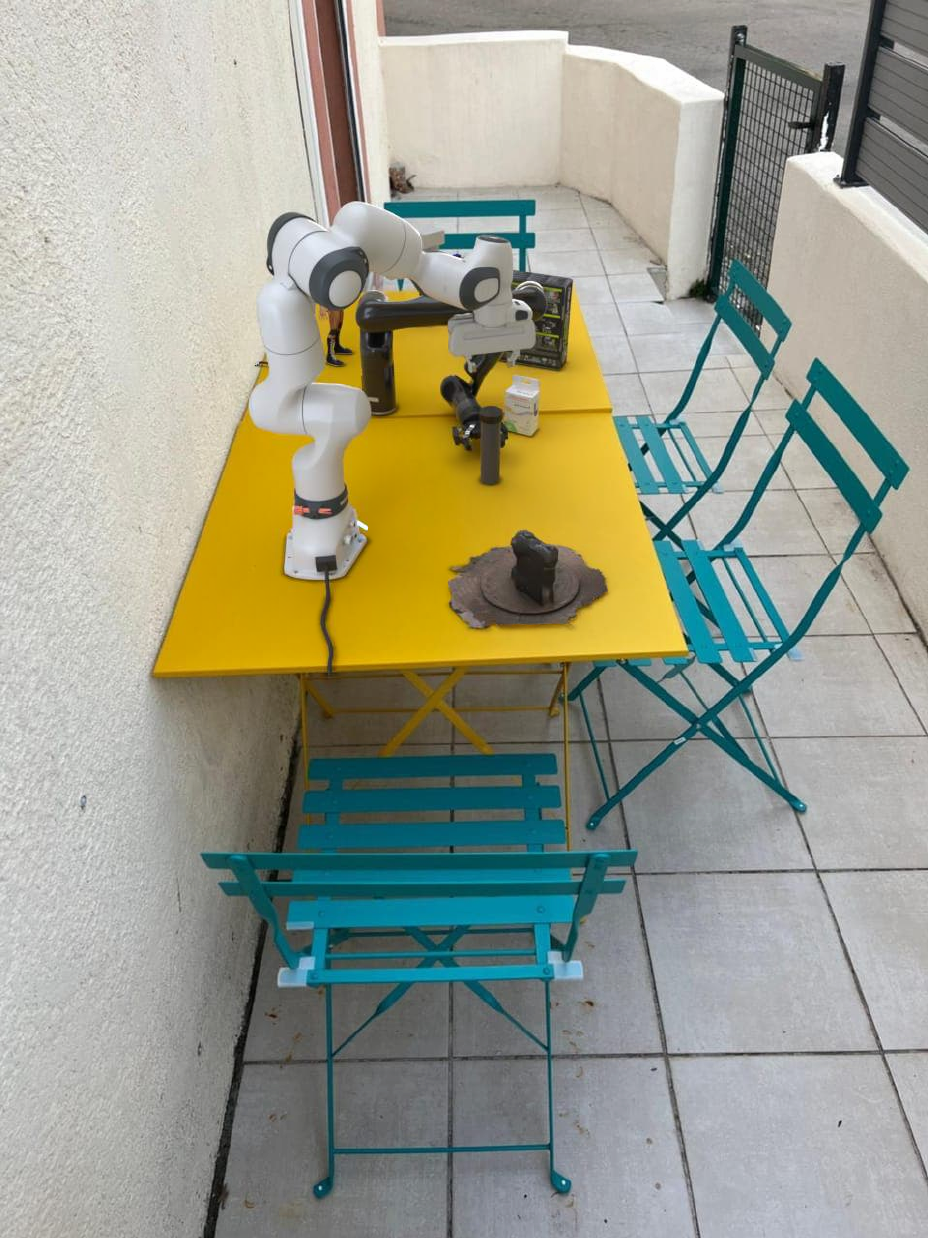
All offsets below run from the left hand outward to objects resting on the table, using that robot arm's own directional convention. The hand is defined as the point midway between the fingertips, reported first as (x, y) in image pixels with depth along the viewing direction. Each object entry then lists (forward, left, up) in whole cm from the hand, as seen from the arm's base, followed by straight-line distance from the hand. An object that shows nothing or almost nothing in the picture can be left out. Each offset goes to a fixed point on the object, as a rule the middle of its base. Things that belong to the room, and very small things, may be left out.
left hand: (491, 368), depth 208 cm
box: (+74, -3, -30) cm, 80 cm away
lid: (0, 0, -11) cm, 11 cm away
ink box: (+27, -7, -30) cm, 41 cm away
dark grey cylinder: (0, 0, -30) cm, 30 cm away
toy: (+103, +28, -30) cm, 111 cm away
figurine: (+70, +53, -30) cm, 93 cm away
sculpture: (-44, -11, -30) cm, 54 cm away
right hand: (+5, +1, -23) cm, 24 cm away
